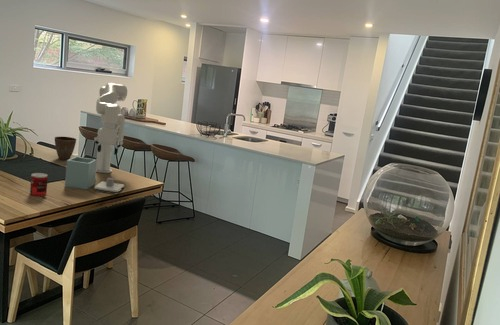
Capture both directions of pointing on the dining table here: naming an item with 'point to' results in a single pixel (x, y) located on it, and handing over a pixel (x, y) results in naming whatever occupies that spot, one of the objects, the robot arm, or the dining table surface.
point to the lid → (109, 185)
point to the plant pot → (64, 147)
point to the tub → (80, 172)
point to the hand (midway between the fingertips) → (107, 153)
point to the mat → (107, 191)
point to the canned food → (38, 184)
